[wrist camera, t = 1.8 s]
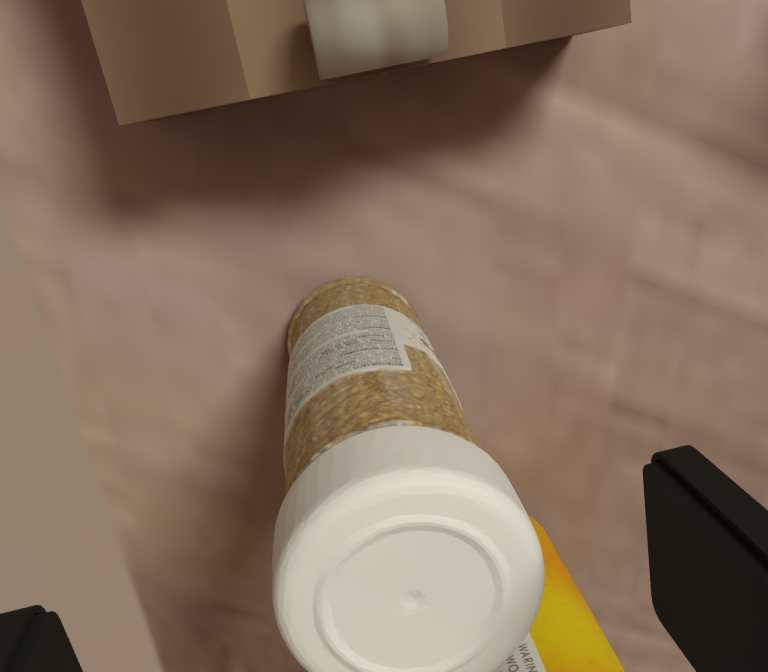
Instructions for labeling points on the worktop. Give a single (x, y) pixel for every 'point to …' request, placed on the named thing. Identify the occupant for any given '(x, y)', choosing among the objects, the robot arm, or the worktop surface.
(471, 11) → the open brown cardboard box
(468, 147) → the worktop surface
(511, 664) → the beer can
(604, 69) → the worktop surface
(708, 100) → the worktop surface
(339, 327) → the sprinkles bottle
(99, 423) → the worktop surface
